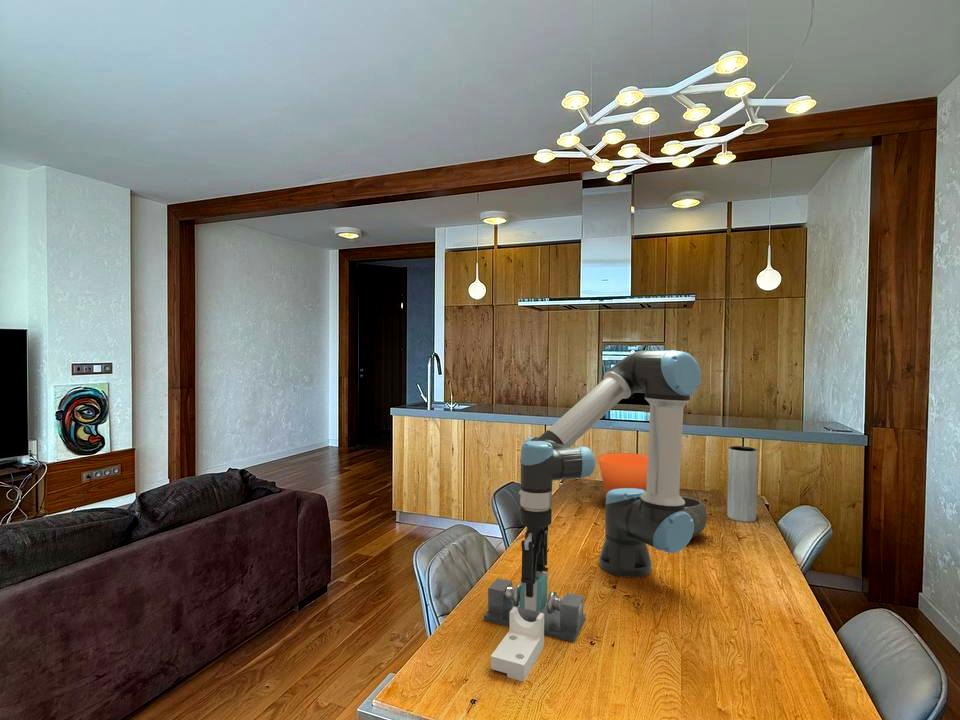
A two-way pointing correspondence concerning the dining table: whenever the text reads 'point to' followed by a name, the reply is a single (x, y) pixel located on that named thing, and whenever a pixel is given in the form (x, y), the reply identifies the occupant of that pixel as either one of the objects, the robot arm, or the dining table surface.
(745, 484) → the vase
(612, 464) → the flowerpot
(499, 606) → the shaft bench
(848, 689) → the dining table surface
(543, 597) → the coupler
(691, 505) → the bowl
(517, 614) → the bracket
